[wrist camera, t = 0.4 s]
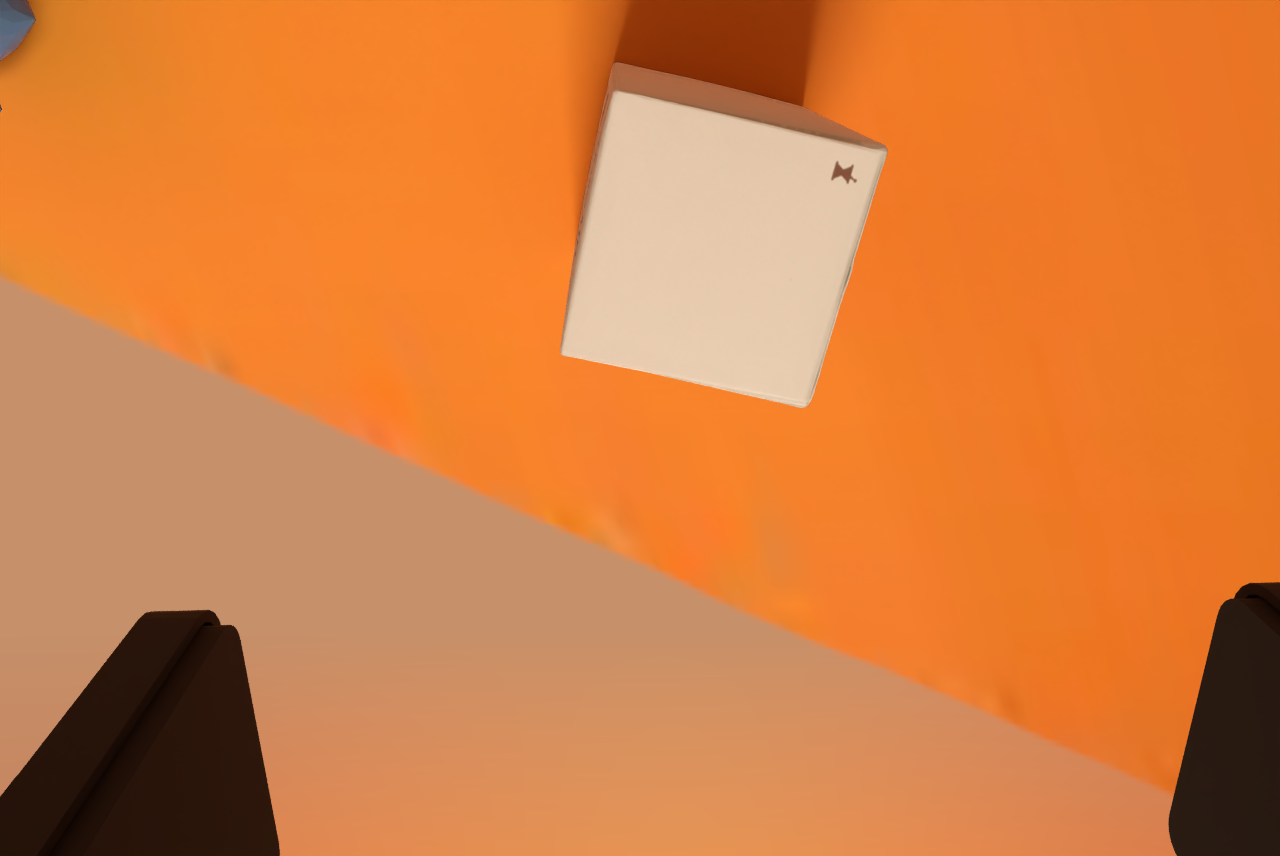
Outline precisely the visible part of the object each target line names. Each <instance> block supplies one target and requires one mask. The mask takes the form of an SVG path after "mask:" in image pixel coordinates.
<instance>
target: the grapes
mask: <svg viewBox="0 0 1280 856" xmlns="http://www.w3.org/2000/svg"><path fill="white" fill-rule="evenodd" d="M35 20H36V19H35V17H34V14H33V12H32V9H31V7H30V5H29V3H28V1H27V0H0V60H2V59H3V58H5V57H6V56H7V55H9V54H10V53H11V52H13V51H14V50H15V49H17V47H18V46H19V45H20V43H21V42H22V41H23V39H24V38H25V36H26V35H27V34H28V32H29V31H30V29H31V27H32V26H33V24H34V22H35ZM1 110H2V108H1V105H0V112H1Z"/></svg>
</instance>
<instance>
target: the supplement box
mask: <svg viewBox="0 0 1280 856" xmlns="http://www.w3.org/2000/svg"><path fill="white" fill-rule="evenodd" d="M887 153H888V152H887V148H886V146H885V145H883V144H881V143H879V142H876V141H874V140H872V139H870V138H868V137H866V136H864V135H861V134H859V133H857V132H855V131H853V130H851V129H849V128H847V127H845V126H842V125H840V124H838V123H836V122H834V121H832V120H830V119H828V118H825V117H823V116H821V115H819V114H817V113H815V112H813V111H811V110H809V109H807V108H805V107H802V106H799V105H795V104H791V103H788V102H784V101H780V100H776V99H772V98H768V97H765V96H761V95H757V94H753V93H750V92H746V91H742V90H738V89H734V88H730V87H726V86H721V85H717V84H713V83H709V82H705V81H701V80H697V79H693V78H688V77H683V76H679V75H674V74H670V73H665V72H660V71H655V70H651V69H646V68H642V67H638V66H633V65H629V64H624V63H619V62H617V63H614V64H613V65H612V68H611V72H610V77H609V82H608V86H607V91H606V95H605V100H604V104H603V109H602V113H601V118H600V123H599V127H598V132H597V136H596V141H595V145H594V150H593V154H592V159H591V163H590V168H589V173H588V179H587V184H586V189H585V194H584V199H583V205H582V210H581V216H580V222H579V228H578V234H577V239H576V245H575V251H574V257H573V264H572V270H571V277H570V284H569V290H568V297H567V305H566V312H565V320H564V327H563V334H562V341H561V349H560V353H561V354H562V355H563V356H568V357H574V358H579V359H584V360H589V361H594V362H599V363H604V364H609V365H614V366H619V367H624V368H629V369H634V370H639V371H644V372H648V373H652V374H657V375H661V376H665V377H670V378H674V379H678V380H683V381H687V382H692V383H696V384H700V385H705V386H709V387H714V388H718V389H722V390H727V391H731V392H736V393H740V394H744V395H748V396H753V397H757V398H762V399H766V400H770V401H775V402H779V403H783V404H788V405H792V406H796V407H806V406H808V405H809V403H810V401H811V400H812V397H813V394H814V391H815V387H816V384H817V381H818V378H819V375H820V371H821V368H822V364H823V361H824V357H825V354H826V351H827V348H828V344H829V341H830V338H831V334H832V331H833V328H834V325H835V321H836V318H837V314H838V311H839V308H840V305H841V301H842V298H843V296H844V293H845V290H846V287H847V284H848V281H849V278H850V275H851V272H852V268H853V263H854V259H855V255H856V252H857V249H858V246H859V242H860V239H861V236H862V232H863V229H864V226H865V222H866V219H867V216H868V212H869V209H870V206H871V203H872V200H873V197H874V193H875V190H876V186H877V183H878V180H879V177H880V174H881V171H882V168H883V165H884V162H885V159H886V156H887Z"/></svg>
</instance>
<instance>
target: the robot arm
mask: <svg viewBox="0 0 1280 856" xmlns="http://www.w3.org/2000/svg"><path fill="white" fill-rule="evenodd" d="M1169 833H1170V838H1171V843H1172V845H1173V848H1174V851H1175V853H1176V855H1177V856H1280V582H1275V583H1249V584H1247V585H1244V586H1242V587H1241V588H1240V590H1239V591H1238V592H1237V593H1236V595H1235V597H1234V599H1229V600H1227V601H1225V602H1224V603H1223V604H1222V606H1221V607H1220V610H1219V612H1218V615H1217V619H1216V623H1215V627H1214V632H1213V636H1212V640H1211V644H1210V648H1209V652H1208V657H1207V661H1206V665H1205V669H1204V673H1203V677H1202V681H1201V686H1200V690H1199V694H1198V698H1197V702H1196V706H1195V710H1194V715H1193V719H1192V723H1191V727H1190V731H1189V735H1188V739H1187V744H1186V748H1185V752H1184V756H1183V760H1182V764H1181V768H1180V773H1179V777H1178V781H1177V785H1176V789H1175V793H1174V797H1173V802H1172V806H1171V810H1170V814H1169ZM0 856H280V850H279V841H278V836H277V831H276V825H275V820H274V815H273V810H272V804H271V799H270V794H269V789H268V783H267V778H266V772H265V767H264V762H263V757H262V752H261V746H260V741H259V736H258V730H257V725H256V720H255V714H254V709H253V704H252V698H251V693H250V688H249V683H248V678H247V672H246V667H245V661H244V656H243V651H242V646H241V640H240V637H239V634H238V631H237V629H236V628H235V627H234V626H232V625H220V621H219V619H218V617H217V616H216V614H215V613H214V612H212V611H210V610H194V611H157V612H156V611H154V612H148V613H145V614H144V615H143V616H142V617H141V618H140V619H138V621H137V622H136V623H135V625H134V626H133V627H132V629H131V630H130V631H129V632H128V634H127V635H126V636H125V638H124V639H123V640H122V641H121V643H120V644H119V645H118V647H117V648H116V649H115V650H114V652H113V653H112V654H111V656H110V657H109V658H108V659H107V661H106V662H105V663H104V665H103V666H102V667H101V669H100V670H99V671H98V672H97V674H96V675H95V676H94V678H93V679H92V680H91V681H90V683H89V684H88V685H87V687H86V688H85V689H84V690H83V692H82V693H81V694H80V696H79V697H78V698H77V699H76V701H75V702H74V703H73V705H72V706H71V707H70V708H69V710H68V711H67V712H66V714H65V715H64V716H63V717H62V719H61V720H60V721H59V723H58V724H57V725H56V727H55V728H54V729H53V730H52V732H51V733H50V734H49V736H48V737H47V738H46V739H45V741H44V742H43V743H42V745H41V746H40V747H39V749H38V750H37V751H36V752H35V754H34V755H33V756H32V758H31V759H30V760H29V761H28V763H27V764H26V765H25V767H24V768H23V769H22V770H21V772H20V773H19V774H18V775H17V776H16V777H15V778H14V780H13V781H12V782H11V784H10V785H9V786H8V788H7V789H6V790H5V792H4V793H3V794H2V795H1V796H0Z"/></svg>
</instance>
